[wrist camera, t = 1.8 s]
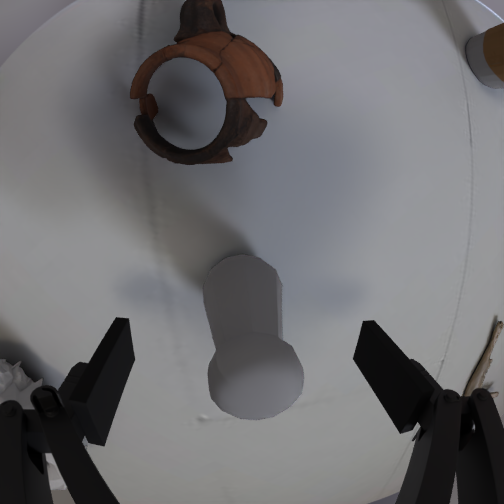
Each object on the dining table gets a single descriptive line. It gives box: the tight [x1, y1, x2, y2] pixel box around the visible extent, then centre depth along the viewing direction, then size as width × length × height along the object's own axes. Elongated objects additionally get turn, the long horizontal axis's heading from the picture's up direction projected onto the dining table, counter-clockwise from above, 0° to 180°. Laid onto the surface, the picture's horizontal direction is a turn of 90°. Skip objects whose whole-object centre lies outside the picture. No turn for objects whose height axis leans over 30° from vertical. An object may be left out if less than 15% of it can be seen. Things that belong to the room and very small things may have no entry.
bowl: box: [0, 359, 87, 490], centre depth 21 cm, size 21×20×10 cm
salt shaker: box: [203, 254, 304, 420], centre depth 17 cm, size 6×6×13 cm
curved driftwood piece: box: [464, 321, 504, 398], centre depth 32 cm, size 9×20×2 cm, turn 30°
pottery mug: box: [130, 0, 283, 165], centre depth 16 cm, size 12×10×8 cm
